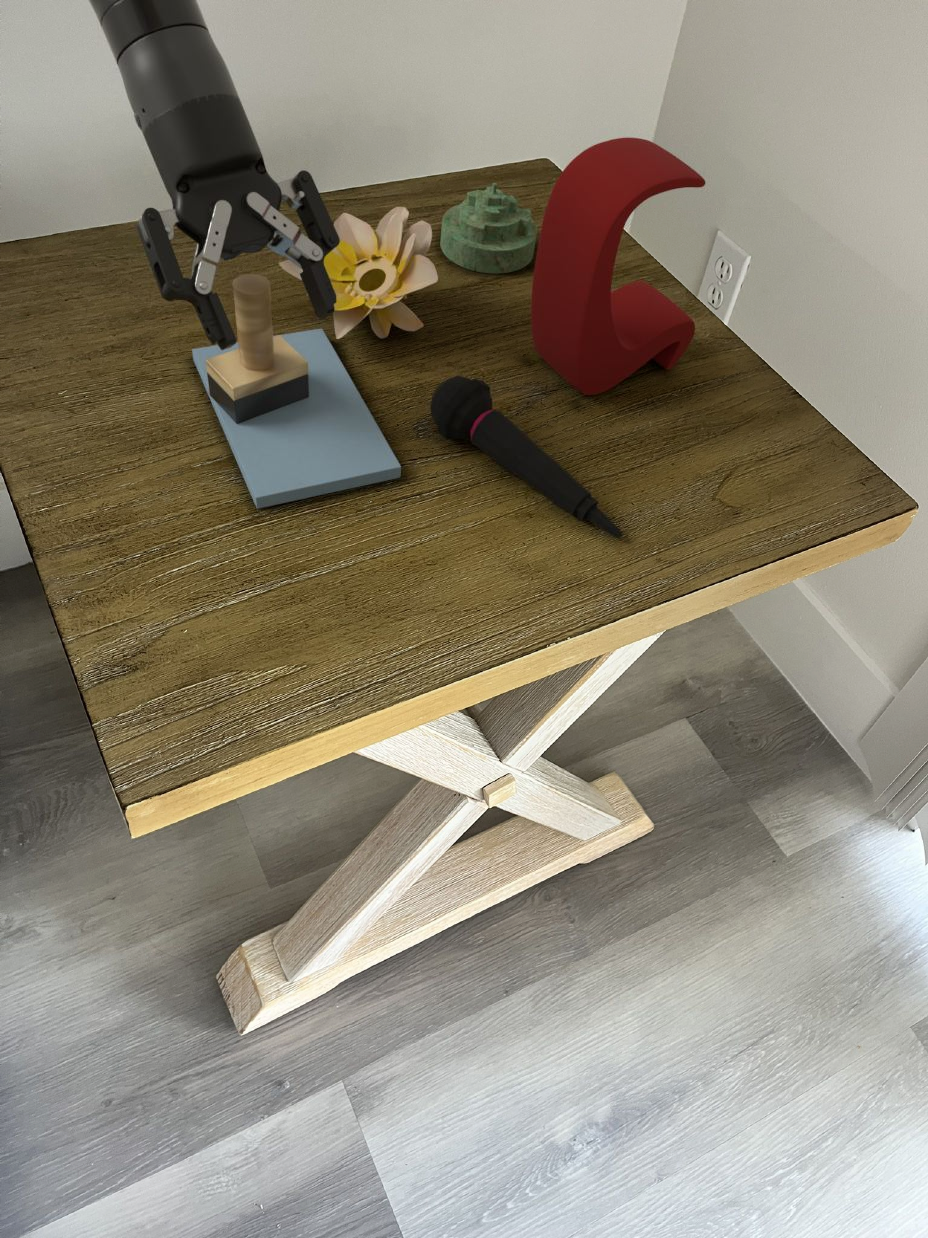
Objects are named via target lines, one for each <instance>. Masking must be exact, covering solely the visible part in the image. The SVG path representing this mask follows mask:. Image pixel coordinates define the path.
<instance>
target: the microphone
mask: <svg viewBox="0 0 928 1238" xmlns="http://www.w3.org/2000/svg"><path fill="white" fill-rule="evenodd" d="M430 415H431V419H432V420H433V422H434V424H435V425H436V426H437V428H438V435H440V436H441V437H443V438H444V439H445V440H450V441H457V440H458V439H459V440H465V441H466V440H469V439H470V441H471V444H472V445H473V446H475V447H477V449H479V450H480V451H482V452H483V453H485V454H486V455H488V456H489V457H490V458H492V459H493V460H495V461H494V462H495V463H496V464H497V465H498V466H499V467H501V468H502V469H504V470H505V471H506V472H508V473H513V474H514V475H515V476H516V477H517V478H520V479H521V480H522V481H524V482H525V483H526V484H527V485H529V486H531V487H532V488H533V489H534V490H536V491H537V492H538V493H540V494H542V495H543V496H544V497H546V498H547V499H549V500H550V501H551V502H553V503H554V504H556V505H557V506H558V507H560V508H561V509H562V510H564V511H565V512H567V513H568V514H569V515H571V516H572V517H576V518H577V519H579V520H580V521H581V522H583V521H586V520H588V521H590V522H591V523H592V524H594V525H595V526H596V527H598V528H600V529H601V530H603V531H604V532H606V533H608V534H610V535H611V536H613V537H615V539H619V538H620V537H622V535H623V532H622V531H621V530H620V529H619V527H618V526H616V524H615V523H614V522H613V521H612V520H611V519H610V518H609V517H608V516H607V515H606V514H605V513H604V512H603V511H602V510H600V508H598V505H599V501H598V500H597V499H596V498H594V497H593V496H592V493H591V492H590V491H589V490H588V489H586V488H585V487H584V486H583V485H582V484H581V483H580V482H579V481H578V480H577V479H576V478H574V477H573V476H572V475H571V474H570V473H569V472H568V471H567V470H565V468H563V467H562V466H561V465H560V464H559V463H558V462H557V461H556V460H554V459H553V457H551V455H549V454H548V453H547V452H545V451H544V450H543V449H542V447H540V446H539V445H538V444H536V443H535V442H534V440H533V439H532V438H530V437H529V436H528V435H527V434H526V433H524V431H522V430H521V429H520V428H519V427H518V426H516V424H515V423H513V422H512V421H511V420H510V419H509V418H507V416H505V414H504V413H502V412H501V411H500V410H497V409H493V398H492V396H491V386H490V385H489V384H488V383H486V382H485V380H481V379H478V378H473V379H472V378H469V377H466V376H462V375H458V374H457V375H454V376H452V377H449V378H447V379H445V380H444V381H442V382H441V383H440V384H438V386H437V387H436V388H435V390H434V392H433V394H432V396H431V400H430Z"/></svg>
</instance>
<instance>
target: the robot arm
mask: <svg viewBox="0 0 928 1238" xmlns="http://www.w3.org/2000/svg"><path fill="white" fill-rule="evenodd" d="M88 2H89V4H90V5H91V8H92V10H93V11H94V14H95V15H96V18H97V20H98V22H99V25H100V27H101V31H102V32H103V34H104V36H105V39H106V42H107V44H108V47H109V49H110V51H111V53H112V55H113V58H114V60H115V62H116V65H117V67H118V70H119V73H120V75H121V78H122V83H123V86H124V90H125V93H126V96H127V99H128V102H129V104H130V107H131V110H132V113H133V117H134V121H135V123H136V125H137V127H138V128H139V130H140V131H141V133H142V135H143V138H144V140H145V142H146V145H147V147H148V150H149V152H150V154H151V157H152V159H153V162H154V164H155V166H156V168H157V170H158V174H159V176H160V179H161V180H162V183H163V185H164V188H165V190H166V193H167V194H168V196H169V197H170V199H171V200H170V201H171V204H172V208H171V209H166V210H160V211H158V209H156V208H155V207H147V208H146V209H144V211H143V212H142V214H141V216H140V217H139V219H138V221H137V223H136V231H137V234H138V236H139V238H140V241H141V244H142V247H143V249H144V252H145V255H146V257H147V259H148V263H149V265H150V268H151V272H152V273H153V277H154V279H155V282H156V284H157V288H158V290H159V292H160V295H161V297H162V298H163V299H164V301H167V302H174V301H175V300H176V301H186V302H188V303H190V304H191V305H192V306H193V307H194V310H195V312H196V314H197V316H198V319H199V322H200V325H201V326H202V329H203V331H204V333H205V336H206V338H207V340H208V341H209V342H210V343H211V344H212V345H218V346H219V348H220V349H221V350H225V349H228V348H231V347H232V346H233V345H235V344H236V342H237V337H236V334H235V332H234V329H233V327H232V325H231V322H230V320H229V318H228V315H227V313H226V311H225V309H224V306H223V303H222V302H221V299H220V297H219V294H218V292H214V293H213V292H212V291H213V290H212V289H213V285H214V280H215V276H216V271H217V268H218V265H219V264H220V261H221V259H223V260H224V261H230V260H233V259H235V258H237V257H238V256H240V255H242V254H254V253H259V252H261V251H262V250H263V249H264V248H268V249H269V250H271V251H272V253H275V254H276V255H278V256H283V257H285V258H286V259H287V260H290V261H292V262H293V263H294V264H296V265H297V266H298V267H300V268H301V269H302V270H303V272H302V273H301V274H300V276H301V279H302V280H301V281H302V283H303V286H304V289H305V291H306V295H307V294H308V295H307V297H308V298H309V301H310V303H311V306H312V308H313V311H314V313H315V316H316V317H317V319H323V318H327V317H328V316H330V315H331V314H332V315H333V312H334V310H335V307H334V304H335V303H337V301H336V294H335V291H334V289H333V286H332V284H331V281H330V278H329V276H328V273H327V271H326V268H325V266H324V258H325V256H326V255H327V254H328V253H330V252H331V251H332V250H333V249H334V248H336V247H337V246H338V245H339V243H340V239H339V236H338V234H337V232H336V229H335V227H334V222H333V221H332V218H331V216H330V213H329V211H328V210H327V207H326V205H325V203H324V200H323V198H322V196H321V193H320V192H319V189H318V187H317V185H316V183H315V180H314V178H313V176H312V174H311V173H310V172H309V171H307V170H303V169H302V170H300V171H299V172H297V174H295V176H294V177H291V178H288V179H285V180H282V181H279V182H276V181H275V179H273V178H272V177H271V175H270V174H269V172H268V170H267V168H266V164H265V160H264V156H263V153H262V151H261V149H260V146H259V143H258V140H257V138H256V135H255V133H254V131H253V128H252V125H251V124H250V121H249V117H248V116H247V113H246V111H245V109H244V106H243V103H242V101H241V99H240V96H239V94H238V90H237V88H236V86H235V83H234V80H233V78H232V76H231V73H230V70H229V68H228V66H227V64H226V62H225V60H224V58H223V56H222V54H221V52H220V50H219V49H218V47H217V45H216V43H215V41H214V39H213V37H212V35H211V33H210V31H209V28H208V26H207V23H206V21H205V18H204V16H203V13H202V10H201V8H200V6H199V3H198V0H88ZM282 200H283V201H284V202H285V203H286V204H287V205H288V207H289V208H290V209H292V210H295V212H296V213H297V216H298V218H299V220H300V222H301V225H302V227H303V230H304V231H305V233H306V235H307V236H306V235H305V234H303V232H302V231H301V228H300V227H299V226H298V225H297V224H295V222H293V221H291V219H289V218H288V217H287V216H286V215H284V214H283V213H281V212H280V209H281V204H282ZM175 227H176V228H177V229H178V230H179V231H181V232H182V233H183V234H185V235H186V236H187V237H189V238H190V239H191V240H193V242H195V243H196V248H195V251H194V255H193V260H192V264H191V274H190V278H189V277H184V275H183V272H182V270H181V267H180V265H179V262H178V259H177V256H176V253H175V251H174V248H173V245H172V243H171V241H172V240H173V239H174V238H175V230H174V229H175Z"/></svg>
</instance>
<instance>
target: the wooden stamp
mask: <svg viewBox="0 0 928 1238" xmlns="http://www.w3.org/2000/svg"><path fill="white" fill-rule="evenodd" d="M232 290H233V291H232V292H233V300H234V302H233V303H234V314H235V325H236V326H235V327H236V335H237V337H236V338H237V342H238V348H239V349H236V350H233V351H230V352H227V353H224V354H221V355H218V356H215V357H212V358H209V359H206V368H207V376H208V384H209V392H210V396H211V397H212V398H213V399H214V400H215V401H216V402H217V403H218V405H219V406H220V407H221V408H222V409H223V410H224V411H225V412H226V413H227V414H228V415H229V416H230V417H231V418H232V420H233V421H234V422H235V423H236V424H239V423H241V422H244V421H247V420H249V419H252V418H255V417H257V416H260V415H263V414H265V413H268V412H271V411H273V410H276V409H279V408H281V407H284V406H286V405H289V404H292V403H294V402H297V401H300V400H302V399H305V398H308V397H309V378H308V362H307V361H306V360H305V359H304V358H303V357H302V356H301V355H300V354H299V353H298V352H297V351H296V350H295V349H294V348H293V347H292V346H291V345H290V344H289V343H288V342H286V341H285V340H284V339H283V338H282V337H281V336H280V335H281V334H277V335H274V328H273V312H272V295H271V283H270V280H268V278H267V277H265V276H263V275H260V274H255V273H246V274H241V275H239V276H237V277H236V278H234V280H233V282H232ZM273 336H275V337H273Z"/></svg>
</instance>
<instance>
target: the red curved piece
mask: <svg viewBox="0 0 928 1238" xmlns="http://www.w3.org/2000/svg"><path fill="white" fill-rule="evenodd" d="M705 185H706V180H705V178H704V177H703V176H702V175H701V174H700V173H699V172H697V171H696V170H695V169H693V168H692V167H691V166H689V164H687V163H685V162H684V161H683V160H681V159H680V158H678V157H677V156H675V154H673V153H671V152H670V151H668V150H667V149H665V148H663V147H662V146H660V145H659V144H656V143H655V142H653V141H651V140H648V139H645V138H639V137H629V136H627V137H618V138H612V139H609V140H604V141H601V142H598V143H596V144H593V145H591V146H589V147H588V148H586V149H584V150H583V151H582V152H580V153H579V154H578V155H576V156H575V157H574V158H573V159H572V160H571V161H570V162H569V163H568V164H567V166H565V168H564V169H563V170H562V172H561V173H560V175H559V177H558V178H557V179H556V181H555V183H554V185H553V188H552V190H551V192H550V196H549V198H548V202H547V204H546V208H545V211H544V215H543V219H542V223H541V227H540V233H539V234H540V235H539V239H538V245H537V252H536V256H535V263H534V270H533V278H532V288H531V300H530V328H531V329H530V331H531V336H532V342H533V346H534V349H535V350H536V353H538V355H539V356H540V357H541V358H542V359H543V360H544V361H545V363H546V364H548V365H549V367H551V369H553V370H554V371H555V372H556V373H557V374H558V375H559V376H560V377H561V378H562V379H564V381H566V382H567V383H568V384H569V385H570V386H571V387H572V388H573V389H575V390H577V391H578V392H579V393H581V394H583V395H586V396H595V395H599V394H602V393H604V392H607V391H609V390H611V389H613V388H614V387H616V386H617V385H618V384H620V383H622V382H623V381H624V380H626V379H627V378H629V377H630V376H631V375H632V374H634V373H635V372H636V371H638V370H639V369H640V368H641V367H643V366H644V365H645V364H647V363H648V362H649V361H650V360H653V361H654V362H655V363H656V364H658V365H659V366H660V367H662V368H664V369H665V370H667V371H668V370H669V371H670V370H672V369H673V368H674V367H675V366H676V364H677V363H678V362H679V360H680V359H681V357H682V356H683V355H684V354H685V352H686V351H687V349H688V347H689V346H690V344H691V342H692V340H693V338H694V335H695V332H696V324H695V321H694V320H693V318H691V317H690V315H688V313H686V311H684V310H683V309H682V308H681V307H679V305H677V304H676V303H675V302H674V301H673V300H672V299H670V298H669V297H667V295H665V294H664V293H663V292H661V291H660V290H658V289H657V288H656V287H655V286H653V285H651V284H650V283H648V282H646V281H645V280H637V281H633V282H629V283H627V284H624V285H621V286H620V287H618V288H616V289H614V290H613V291H612V282H613V275H614V270H615V269H614V268H615V263H616V259H617V255H618V250H619V246H620V242H621V239H622V235H623V232H624V228H625V226H626V223H627V222H628V219H629V218H630V216H631V215H632V213H633V212H634V211H635V210H636V209H637V208H638V207H639V206H640V205H641V204H643V203H644V202H645V201H647V200H649V199H650V198H652V197H654V196H656V195H657V196H658V195H660V194H662V193H665V192H669V191H672V190H677V189H684V188H685V189H686V188H704V187H705Z"/></svg>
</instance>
